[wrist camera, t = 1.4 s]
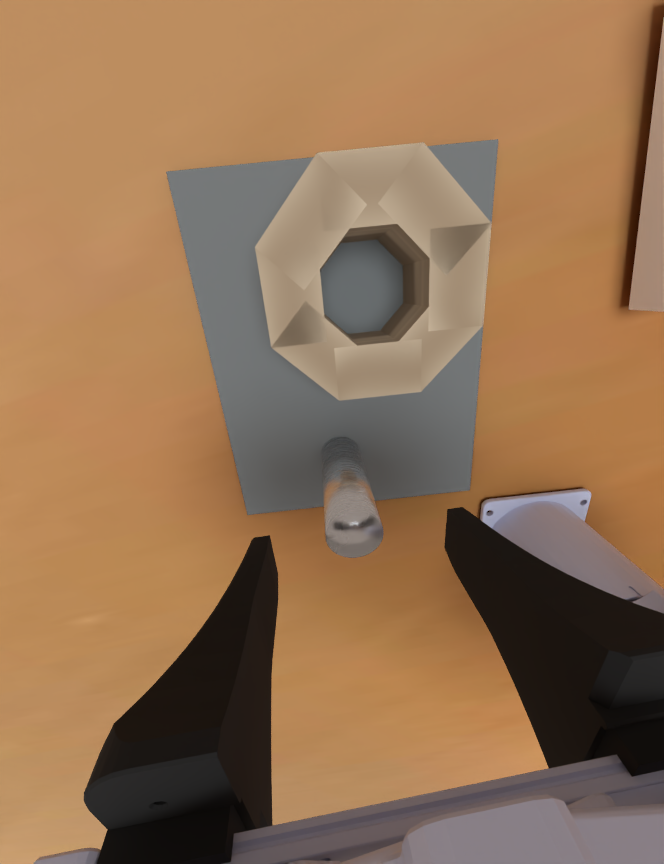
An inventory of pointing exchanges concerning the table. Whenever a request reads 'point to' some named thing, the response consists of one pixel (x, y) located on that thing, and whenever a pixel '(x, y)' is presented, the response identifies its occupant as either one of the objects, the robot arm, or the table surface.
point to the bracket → (652, 212)
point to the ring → (405, 239)
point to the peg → (348, 501)
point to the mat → (348, 308)
